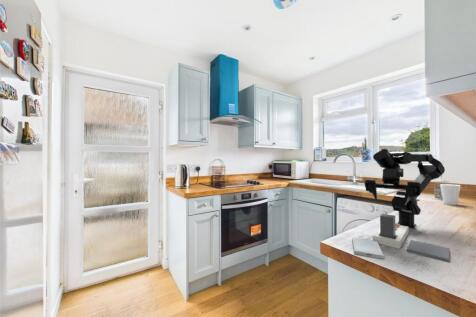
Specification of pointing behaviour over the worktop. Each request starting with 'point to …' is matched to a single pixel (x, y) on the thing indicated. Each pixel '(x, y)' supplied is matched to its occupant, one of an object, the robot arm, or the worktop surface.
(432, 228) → the worktop surface
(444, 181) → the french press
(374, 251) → the hard drive
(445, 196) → the foam cup
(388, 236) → the block
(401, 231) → the power strip
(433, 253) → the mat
